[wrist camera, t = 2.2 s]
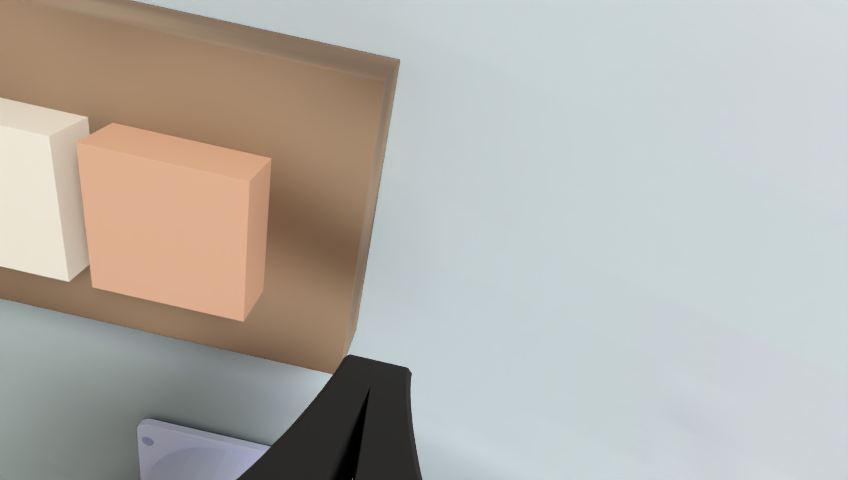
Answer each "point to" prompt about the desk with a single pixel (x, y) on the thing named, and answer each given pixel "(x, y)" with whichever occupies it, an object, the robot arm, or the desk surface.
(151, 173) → the terracotta tile
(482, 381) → the desk surface
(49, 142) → the cream tile
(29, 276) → the walnut board
